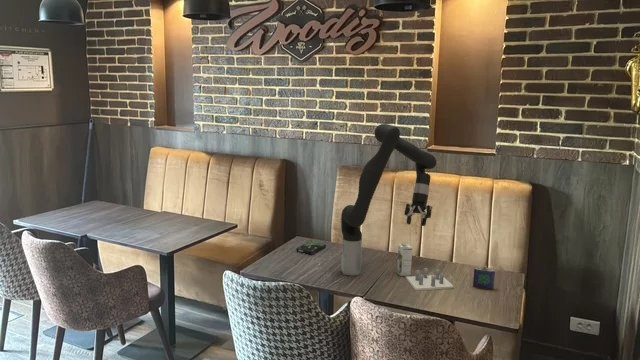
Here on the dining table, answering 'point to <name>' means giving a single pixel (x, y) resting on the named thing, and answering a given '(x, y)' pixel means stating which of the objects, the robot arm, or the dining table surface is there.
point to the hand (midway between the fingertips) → (415, 225)
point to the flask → (484, 278)
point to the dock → (429, 281)
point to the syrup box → (404, 260)
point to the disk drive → (311, 248)
